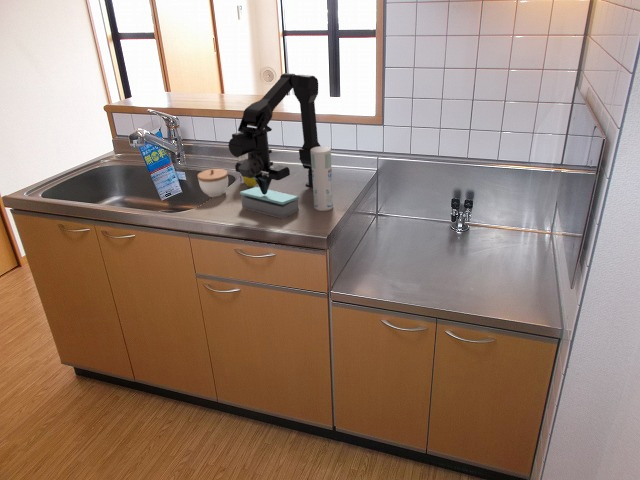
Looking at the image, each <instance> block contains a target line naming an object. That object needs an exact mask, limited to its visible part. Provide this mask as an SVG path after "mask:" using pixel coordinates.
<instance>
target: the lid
mask: <svg viewBox="0 0 640 480" xmlns="http://www.w3.org/2000/svg"><path fill="white" fill-rule="evenodd" d="M239 195H242V196H244V195H245V196H249V197H253V198H257V199H261V200H265V201H269V202H273V203H277V204H282V205H283V204H286V203H288V202H291V201H294V200H297V199H298V200H299V196H297V195H295V194H294V195H293V194H289V193H286V192H285V193H284V192H280V191H276V190H273V189H268V191H267V194H265V195H264V194H262V192H261V190H260V188H259V186H254V187H253V188H251V187H250V188H249V189H245V190H242V191H240V192H239Z"/></svg>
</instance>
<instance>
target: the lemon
mask: <svg viewBox="0 0 640 480" xmlns="http://www.w3.org/2000/svg"><path fill="white" fill-rule="evenodd" d="M243 179H244V182H245V183H244V184H245V185H246V187H247V186H248V187H249V188H250V189H251V188H254V187H256V185H258V184H257V182H256V180H255V179H254V178H248V177H243Z"/></svg>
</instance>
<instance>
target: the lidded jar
mask: <svg viewBox="0 0 640 480" xmlns="http://www.w3.org/2000/svg"><path fill="white" fill-rule="evenodd" d="M228 175H229V174H228V171H227V170H226V169H224V168H223V169H222V168H210V169H206V170H203V171H200V172H199V173H198V174H197V179H198V183H199V187H200V189H201V191H202V192H203V193H204V194H206V196H207V197H210V198H215V197H220V196H223V195H224V194H225V192H226V191H227V189H228V186H229V177H228Z"/></svg>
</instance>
